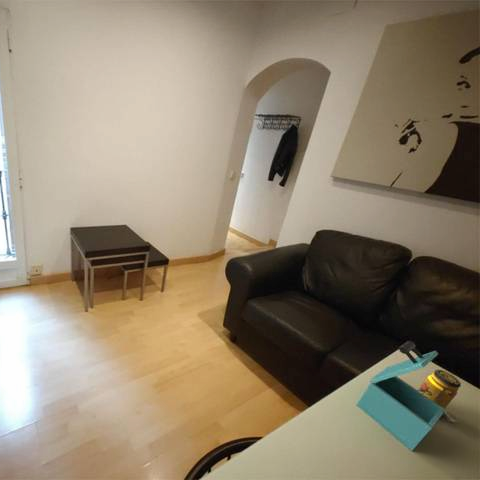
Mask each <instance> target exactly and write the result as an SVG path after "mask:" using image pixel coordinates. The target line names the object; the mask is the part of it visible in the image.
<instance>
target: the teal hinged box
mask: <svg viewBox="0 0 480 480" xmlns="http://www.w3.org/2000/svg"><path fill="white" fill-rule="evenodd" d="M417 390H418V389H416V388H414V387H413V386H412V385H410V384H409V383H407V382H406V381H404V380H403V379H401V378H400V377H398V376H395V377H392V378H389V379H385V380H382V381H379V382H376V383H372V382H370V384H369V385H368V387H367V388H366V390H365V391H364V392H363V394H362V395H361V397H360V399H359V400H358V401H357V403H356V406H357V407H358V408H359V409H360V410H361V411H363V412H364V413H365V414H366V415H367V416H369V417H370V418H371V419H372V420H373V421H374V422H376V423H377V424H378V425H379V426H381V427H382V428H383V429H384V430H386V431H387V432H388V433H389V434H390V435H392V437H394V438H395V439H396V440H397V441H399V442H400V443H401V444H402V445H404V446H405V447H406V448H407V449H408V450H409V451H411V452H413V450H414V449H415V448H416V447H417V446H418V445H419V444H420V443H421V441H422V440H424V438H425V437H426V436H427V434H428V433H429V432H430V431H431V430H432V429H433V428H434V427H435V425H436V423H437V422H438V421H439V420H440V419H439V418H440V417H441V415H442V414H443V413H444V411H445V412H446V408H445V409H444V408H442V407H441V406H439V405H438V404H436V403H435V402H434V401H432V400H431V399H429V398H428V397H426V396H425V395H423V394H422V393H420V392H419V391H417ZM405 406H406V407H408V408H409V409H410V410H412V411H413V412H415V413H416V414H417V415H419V416H420V417H421V418H423V419H424V420H423V419H421V418H420V417H419V416H417V415H416V414H414V413H413V412H412V411H410V410H409V409H408V408H406V407H405Z"/></svg>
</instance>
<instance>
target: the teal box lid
mask: <svg viewBox="0 0 480 480" xmlns="http://www.w3.org/2000/svg"><path fill="white" fill-rule="evenodd" d="M398 350H399V352H400V353H401V354H403V355H406V356H407V357H408V359H407V360H404V361H401V362H398V363H396V364H393V365H389V366H387V367H385V368H384V369H382V371H380V372H379V373H378V374H377V375H375V376H374V377H372V378H371V379H370V383H376V382H379V381H382V380H385V379H389V378H392V377H395V376H397V377H398V376H402V375H405V374H407V373H411V372H414V371H418V370H421V369H424V368H425V367H426V366H427V365H428V364H429V363H430V362H431V361H433V360H434V359H435V358H436V357H437V356H438V355H439V352H437V350H434V351H430V352H428V353H425V354H422V353H421V352H420V351H419V350H418V349H417V348H416V343H414V342H413V341H411V340H407V341H406V342H404V343H403V344H401V346H399V347H398ZM411 351H412V352H413V353H414V354H415V355H416V357H414V356H413V354H411V353H410V352H411Z"/></svg>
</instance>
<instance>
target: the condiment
mask: <svg viewBox="0 0 480 480" xmlns="http://www.w3.org/2000/svg"><path fill="white" fill-rule="evenodd" d="M461 387H462V383H461V381H460V380H459V379H458V378H457V377H456V376H454V375H453V374H451V373H450V372H448V371H445V370H444V369H443V370H442V369H434V372H432V374H429V375H428V376H427V377H426V378H425V380H424V381H423V383H422V384H421V385H420V386H419V388H418V389H416V390H417V391H419V392H420V393H422V394H423V395H425V396H426V397H428V398H429V399H431V400H432V401H434V402H435V403H436V404H438V405H439V406H441V407H442V408H444V409H445V411H444V413H443V414H442V415H441V417H440V418H439V419H438V420H442V421H446V422H452V423H455V424H456V421H455V420H454V419H452V417H451V416H450V415H449V414H448V413H447V412H446V408H447V406H448V405H449V404H450V403H451V402H452V401H453V400H454V398H455V397H456V396H457V395H458V391H459V388H461Z"/></svg>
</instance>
